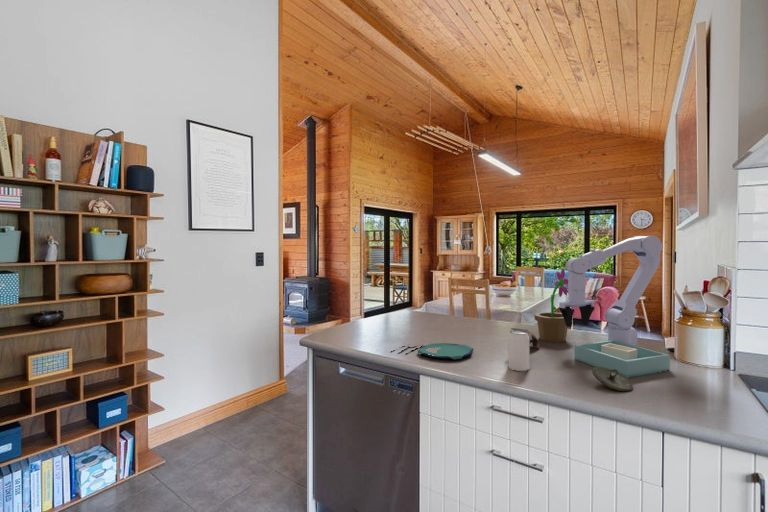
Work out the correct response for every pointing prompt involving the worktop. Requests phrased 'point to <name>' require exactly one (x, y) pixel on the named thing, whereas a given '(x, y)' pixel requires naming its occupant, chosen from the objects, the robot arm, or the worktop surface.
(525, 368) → the can
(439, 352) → the teal platter
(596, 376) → the lid
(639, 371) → the big tray
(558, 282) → the flowerpot
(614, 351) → the small crate
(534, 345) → the pottery mug
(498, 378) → the worktop surface
